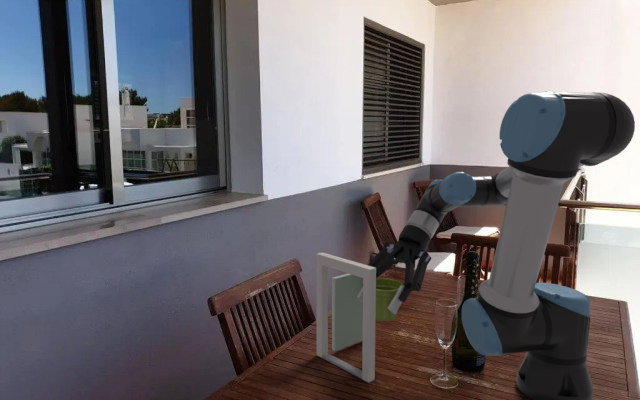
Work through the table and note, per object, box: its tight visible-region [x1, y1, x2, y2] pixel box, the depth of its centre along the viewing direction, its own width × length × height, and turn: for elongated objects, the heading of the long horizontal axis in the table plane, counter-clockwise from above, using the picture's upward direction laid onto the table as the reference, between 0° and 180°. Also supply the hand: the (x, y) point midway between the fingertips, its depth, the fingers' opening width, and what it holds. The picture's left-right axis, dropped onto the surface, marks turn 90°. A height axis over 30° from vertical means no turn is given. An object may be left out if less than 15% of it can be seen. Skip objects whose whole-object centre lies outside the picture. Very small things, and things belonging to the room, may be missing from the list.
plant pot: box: [375, 277, 405, 322], centre depth 124 cm, size 9×9×9 cm
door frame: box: [315, 252, 376, 383], centre depth 118 cm, size 18×2×26 cm, turn 41°
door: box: [331, 273, 363, 352], centre depth 130 cm, size 13×3×19 cm, turn 131°
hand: (375, 305), depth 122 cm, fingers closed on plant pot, 9 cm apart
